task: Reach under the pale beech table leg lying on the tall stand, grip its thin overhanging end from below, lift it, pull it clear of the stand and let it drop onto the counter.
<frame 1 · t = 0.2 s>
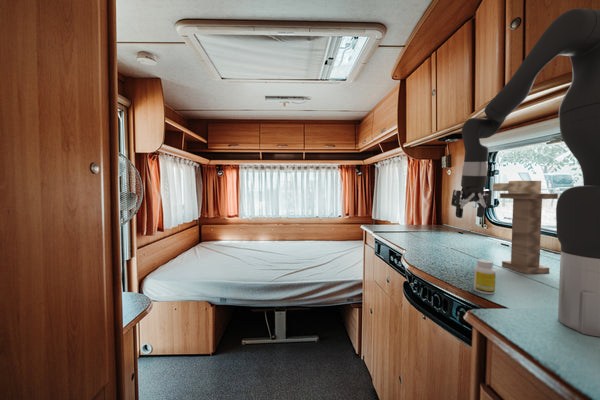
hand: (469, 217, 91), 22 cm above the counter, tool pointing down, fingers open, 8 cm apart
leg: (514, 193, 96), point 31 cm above the counter, touching stand
supplement bottle: (483, 291, 77), on the counter
stand: (524, 269, 98), on the counter
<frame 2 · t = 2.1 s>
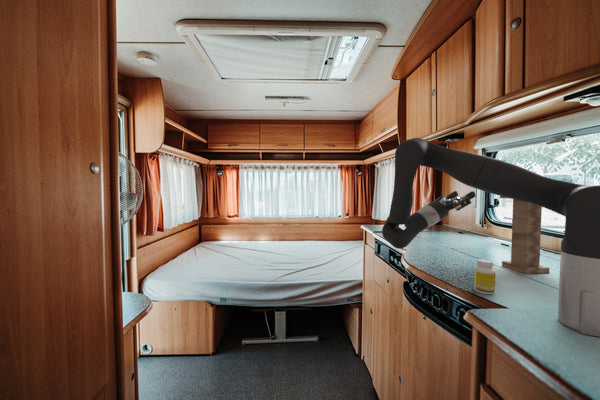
hand: (465, 193, 94), 31 cm above the counter, tool pointing upward, fingers open, 8 cm apart
nothing on the counter moved.
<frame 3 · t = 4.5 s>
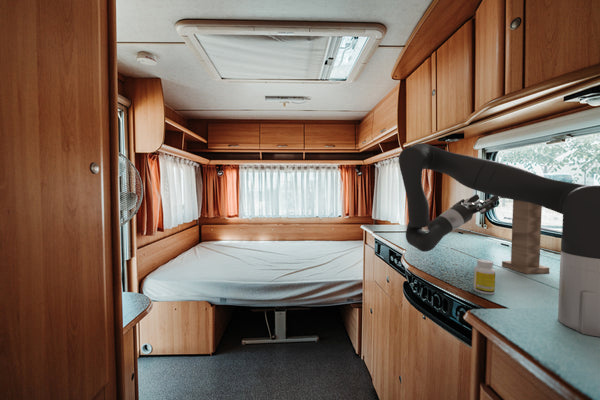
hand: (487, 196, 95), 30 cm above the counter, tool pointing upward, fingers open, 8 cm apart
nothing on the counter moved.
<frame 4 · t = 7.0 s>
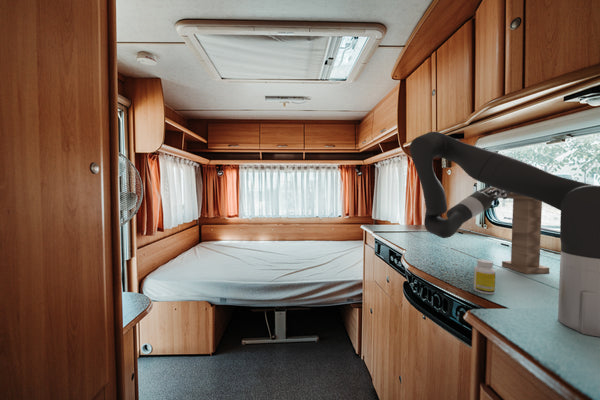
hand: (507, 183, 96), 35 cm above the counter, tool pointing upward, fingers closed on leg, 3 cm apart
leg: (514, 193, 96), point 31 cm above the counter, touching gripper, stand
everything else where it was.
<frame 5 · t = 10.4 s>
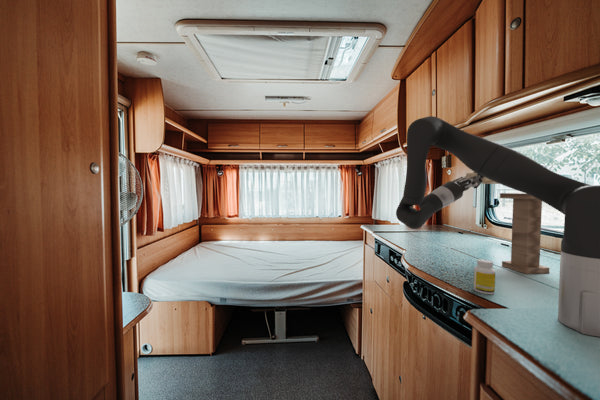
hand: (480, 173, 94), 39 cm above the counter, tool pointing upward, fingers closed on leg, 3 cm apart
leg: (487, 183, 95), point 35 cm above the counter, touching gripper
everything else where it was.
when the fingers open (26 cm above the counter, at t = 14.1 s): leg drops 23 cm, on the counter.
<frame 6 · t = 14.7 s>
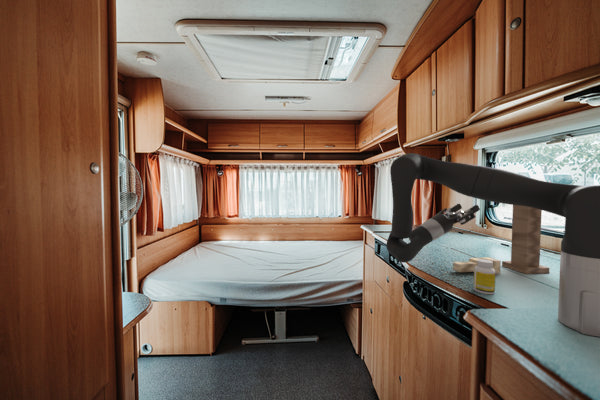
hand: (468, 206, 94), 26 cm above the counter, tool pointing upward, fingers open, 8 cm apart
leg: (474, 272, 95), on the counter
everything else where it was.
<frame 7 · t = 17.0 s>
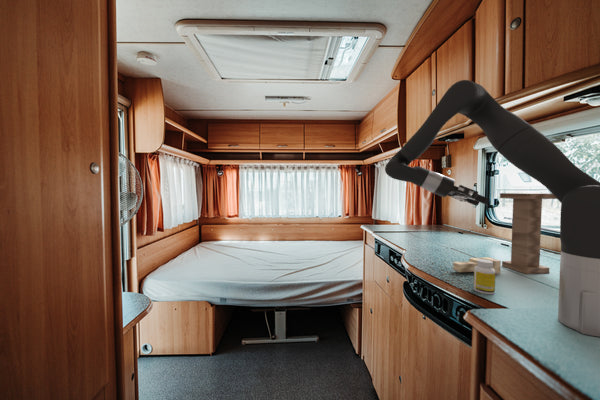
hand: (482, 202, 87), 28 cm above the counter, tool tilted 65°, fingers open, 8 cm apart
nothing on the counter moved.
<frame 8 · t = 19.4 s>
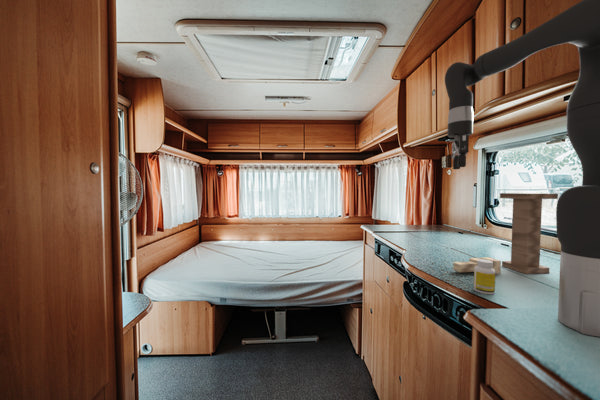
hand: (459, 168, 86), 40 cm above the counter, tool pointing down, fingers open, 8 cm apart
nothing on the counter moved.
at the end: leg touching counter; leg moved 35.6 cm from its start; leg on the counter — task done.
